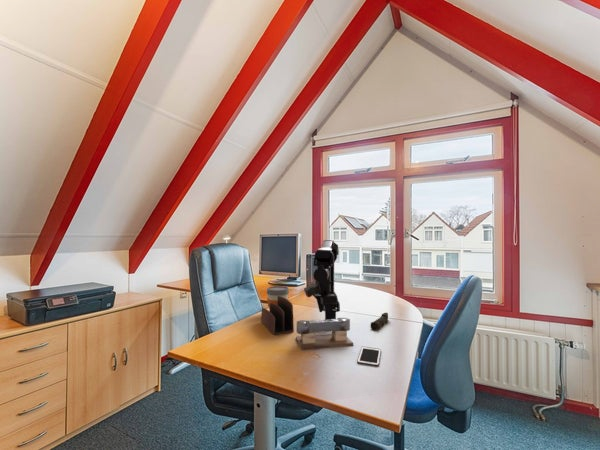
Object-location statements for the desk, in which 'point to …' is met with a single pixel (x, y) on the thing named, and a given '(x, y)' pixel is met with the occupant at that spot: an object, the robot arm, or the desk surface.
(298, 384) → the desk surface
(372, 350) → the cell phone
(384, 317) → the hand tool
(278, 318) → the letter holder
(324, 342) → the tool rack
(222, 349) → the desk surface
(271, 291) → the reusable coffee cup
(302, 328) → the grey long block
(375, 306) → the desk surface
